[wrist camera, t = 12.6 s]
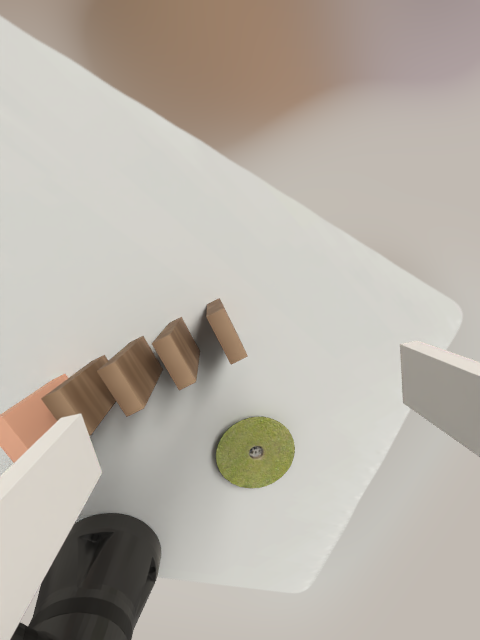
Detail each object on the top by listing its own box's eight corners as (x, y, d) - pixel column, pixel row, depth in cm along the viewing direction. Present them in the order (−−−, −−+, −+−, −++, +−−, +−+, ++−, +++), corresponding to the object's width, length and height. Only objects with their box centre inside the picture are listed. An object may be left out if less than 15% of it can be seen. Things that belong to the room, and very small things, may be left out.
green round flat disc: (266, 488, 39) (269, 499, 37) (201, 462, 37) (201, 472, 35) (304, 428, 38) (309, 436, 36) (239, 397, 36) (241, 404, 34)
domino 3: (143, 335, 33) (114, 362, 23) (162, 369, 34) (143, 408, 24) (130, 342, 33) (96, 370, 23) (150, 375, 34) (126, 416, 24)
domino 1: (65, 373, 32) (2, 416, 23) (87, 406, 33) (37, 460, 24) (52, 380, 32) (-17, 425, 22) (75, 412, 33) (19, 469, 24)
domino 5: (219, 298, 33) (223, 308, 23) (236, 332, 34) (247, 356, 24) (207, 304, 33) (206, 316, 23) (224, 338, 34) (230, 364, 24)
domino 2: (104, 355, 32) (59, 389, 23) (125, 388, 34) (91, 434, 24) (91, 361, 32) (40, 398, 23) (113, 394, 34) (73, 443, 24)
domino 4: (181, 317, 33) (169, 334, 23) (199, 351, 34) (196, 381, 24) (168, 323, 33) (151, 343, 23) (187, 357, 34) (179, 390, 24)
